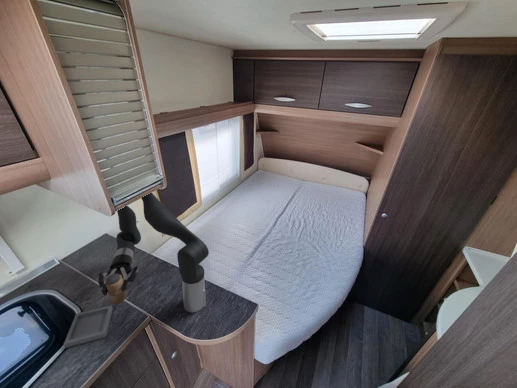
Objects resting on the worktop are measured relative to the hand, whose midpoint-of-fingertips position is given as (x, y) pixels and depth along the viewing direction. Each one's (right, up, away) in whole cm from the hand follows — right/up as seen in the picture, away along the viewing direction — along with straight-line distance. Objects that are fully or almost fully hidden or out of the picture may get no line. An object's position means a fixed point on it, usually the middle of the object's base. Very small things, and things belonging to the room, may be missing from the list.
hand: (114, 291), depth 76 cm
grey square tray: (-12, -16, +5) cm, 21 cm away
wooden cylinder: (-2, -5, +5) cm, 7 cm away
